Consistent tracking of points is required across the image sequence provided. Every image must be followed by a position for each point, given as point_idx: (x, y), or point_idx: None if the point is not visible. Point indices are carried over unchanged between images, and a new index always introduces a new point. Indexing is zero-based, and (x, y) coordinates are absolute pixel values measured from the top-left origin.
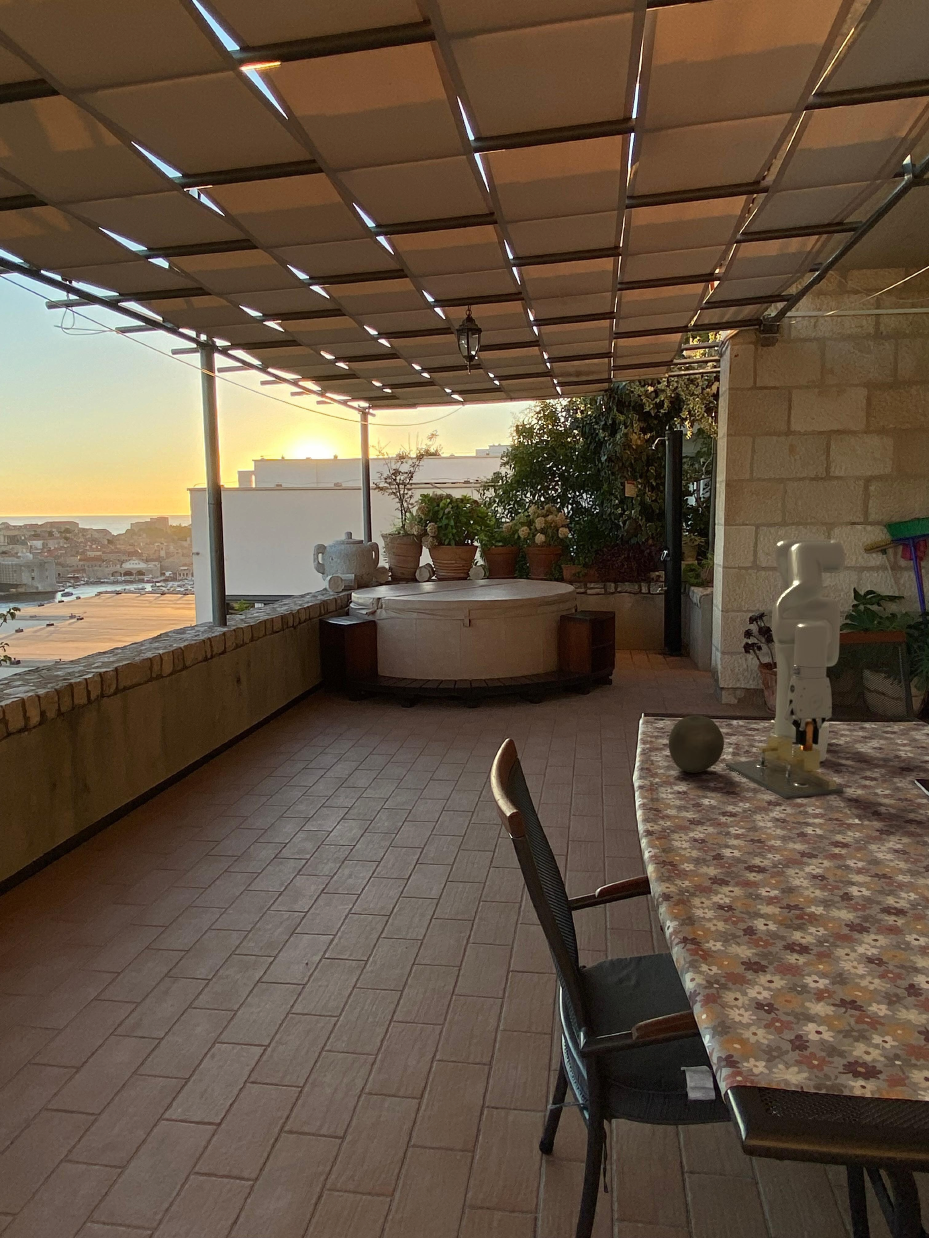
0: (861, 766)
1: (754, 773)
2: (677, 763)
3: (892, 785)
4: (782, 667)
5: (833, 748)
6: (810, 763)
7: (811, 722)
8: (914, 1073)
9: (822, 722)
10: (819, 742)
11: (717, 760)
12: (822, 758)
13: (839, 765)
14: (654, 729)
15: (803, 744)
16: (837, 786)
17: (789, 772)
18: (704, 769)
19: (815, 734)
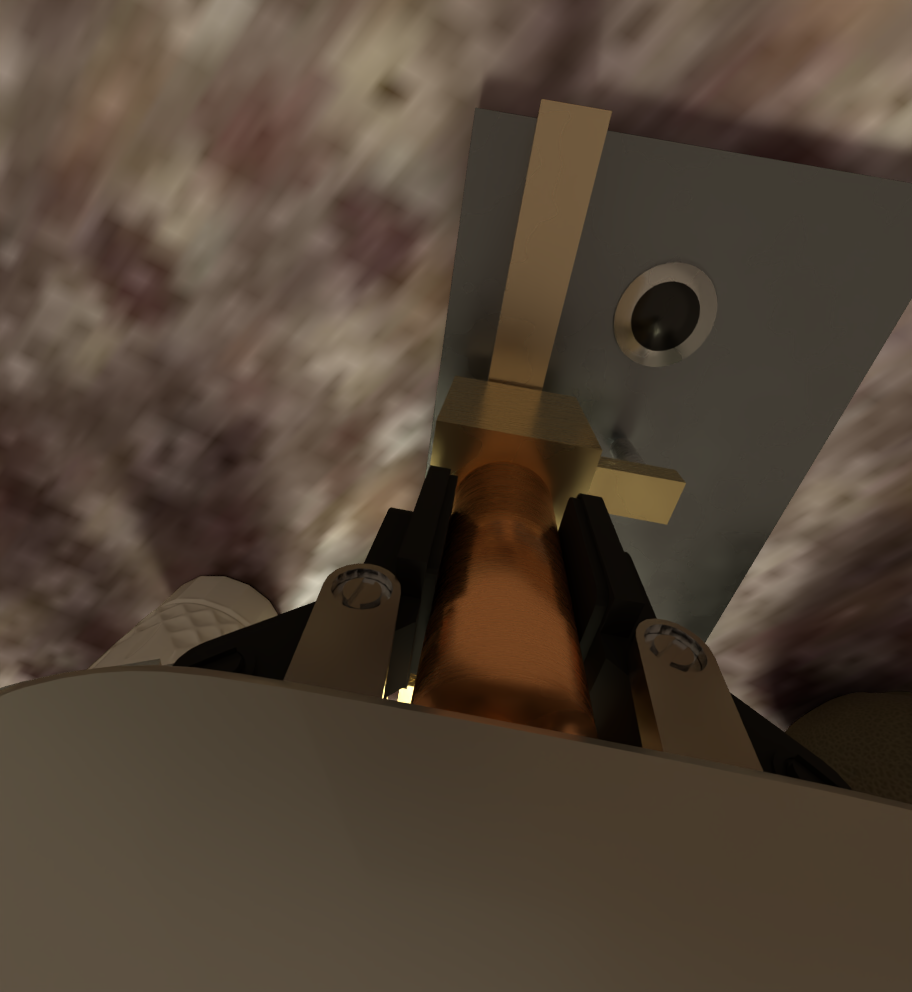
0: (69, 447)
1: (694, 576)
2: None
3: (56, 70)
4: None
5: (71, 653)
6: (529, 402)
7: (494, 690)
8: None
9: (262, 639)
10: (176, 646)
11: (899, 708)
12: (205, 583)
13: (169, 504)
14: None
15: (601, 504)
16: (482, 164)
17: (632, 450)
18: (894, 692)
19: (445, 534)
